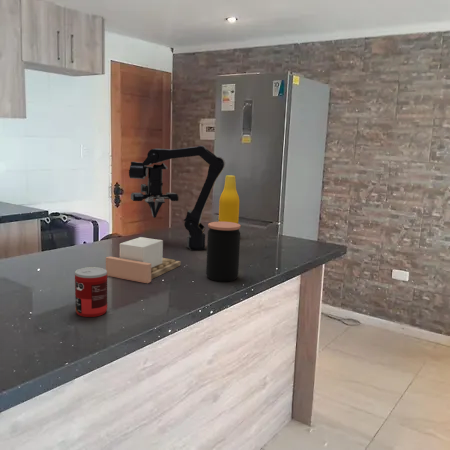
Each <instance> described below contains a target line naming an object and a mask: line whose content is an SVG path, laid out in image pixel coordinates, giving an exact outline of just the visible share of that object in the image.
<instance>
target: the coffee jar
mask: <svg viewBox="0 0 450 450" xmlns="http://www.w3.org/2000/svg"><path fill="white" fill-rule="evenodd" d="M241 226H242V225H241V224H240V223H238V224H237V223H233V222H219V221H212V222H209V223H208V224H207V227H208V230H207V244H206V270H205V271H206V276H207V278H208V279H209V280H211V281H214V282H220V283H222V282H226V283H227V282H233V281H235V280H236V279H237V278H238V276H239V268H240V267H239V265H240V246H241V245H240V244H241V232H240V229H241Z"/></svg>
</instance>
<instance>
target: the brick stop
mask: <svg viewBox="0 0 450 450" xmlns="http://www.w3.org/2000/svg"><path fill="white" fill-rule="evenodd" d="M105 270H107V277H111V278H118V279H123V280H128V281H133V282H139V283H143V284H149V283H152V279H151V263H146V262H140V261H134V260H128V259H122V258H120V257H115V256H107V257H105Z"/></svg>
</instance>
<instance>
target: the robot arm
mask: <svg viewBox="0 0 450 450" xmlns="http://www.w3.org/2000/svg"><path fill="white" fill-rule="evenodd" d="M197 156H198V157H200V158H201V159H203V161H204V162H205V163H207V165H208V169H207V170H208V171H207V175H206V179H205V181H204V183H203V186H202V188H201V191H200V192H199V195H198V196H197V197H198V198H197V200H196V202H195V205H194V207H193V209H189V210H188V211H187V213H186V216H185V219H183V221H184V227H185V230H186V231H188V236H187V239H186V247H187V248H188V249H189V250H190V251H202V250H204V251H205V250H206V251H207V247H206V234H205V230H206V227H205V225H203V223H201V222H202V218H203V212H204V209H205V207H206V204H207V202H208V199H209V197H210V195H211V193H212V190H213V187H214V185H215V182H216V181H217V179H218V178H219V176H220V175H221V173H222V172H223V170H224V168H226V161H225V159H224V158H223V157H222V156H217V155H215V154H214V153H213V152H212V151H210V150H209V149H208V148H207V147H206V146H205V145H198V146H191V147H184V148H173V149H172V148H171V149H170V148H151V149H150V150H148V152H147V157H146V158H145V160H143V161H142V162H141V161H139V162H137V161H131V162H130V166H129V170H128V177H129V178H130V179H137V180H138V179H139V180H145V179H146V177H147V184H146V183H143V184H141V185H140V192H131V193H130V200H131V201H133V202H142V201H143V200H144V202H145V203H147V204H148V206H149V208H150V211H151V215H152V217H153V218H154V219H155V218H157V215H158V213H159V211H160V209H161V207H162V205H163V204H165V203H166V202H165V200H170V202H171V201H172V202H178V201H179V199H180V196H179V194H178V193H176V192H166V194H163V185H164V183H163V172H164V171H163V170H168V169H169V167H168V166H167V165H166V164H165V162H164V161H168V160H171V159H178V158H179V159H180V158H181V159H182V158H189V157H197ZM158 163H161V164H158ZM150 165H153V166H150ZM143 193H145V194H143Z"/></svg>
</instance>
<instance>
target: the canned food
mask: <svg viewBox="0 0 450 450" xmlns="http://www.w3.org/2000/svg"><path fill="white" fill-rule="evenodd" d="M74 290H75V291H74V292H75V293H74V294H75V295H74V296H75V297H74V300H75V313H76V315H78V316H80V317H85V318H96V317H100V316H102V315H105V314H106V313H107V311H108V310H107V309H108V276H107V270H106V268H102V267H99V266H98V267H97V266H96V267H94V266H90V267H89V266H88V267H82V268H78V269H76V270H75V272H74Z"/></svg>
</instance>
